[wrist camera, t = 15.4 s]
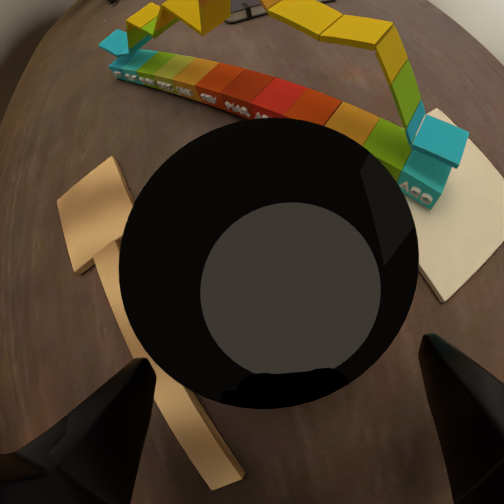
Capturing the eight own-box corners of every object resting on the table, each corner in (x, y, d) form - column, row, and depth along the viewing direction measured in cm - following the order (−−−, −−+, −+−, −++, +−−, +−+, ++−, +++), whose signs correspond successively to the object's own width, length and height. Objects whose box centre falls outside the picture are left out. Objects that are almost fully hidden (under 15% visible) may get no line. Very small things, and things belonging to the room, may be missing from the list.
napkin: (523, 214, 15) (528, 211, 14) (440, 303, 15) (445, 301, 14) (435, 112, 18) (437, 107, 18) (338, 170, 18) (338, 165, 17)
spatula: (277, 458, 14) (275, 464, 13) (189, 494, 14) (183, 500, 13) (117, 160, 22) (110, 153, 21) (62, 204, 22) (54, 199, 21)
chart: (115, 79, 26) (44, -25, 12) (136, 60, 26) (74, -45, 12) (429, 213, 15) (546, -30, 2) (445, 175, 16) (533, -42, 2)
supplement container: (326, 230, 17) (338, 89, 7) (370, 344, 15) (465, 334, 5) (213, 270, 17) (106, 176, 8) (247, 386, 15) (155, 437, 5)
